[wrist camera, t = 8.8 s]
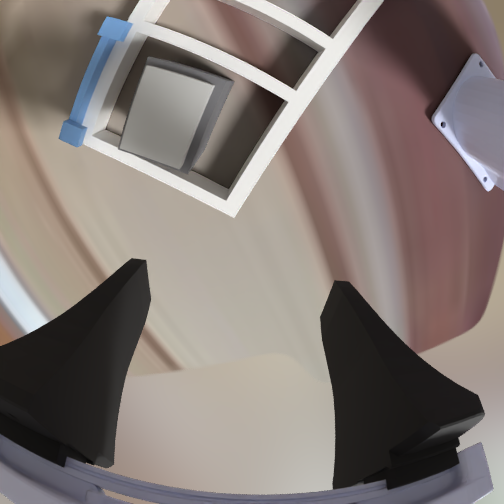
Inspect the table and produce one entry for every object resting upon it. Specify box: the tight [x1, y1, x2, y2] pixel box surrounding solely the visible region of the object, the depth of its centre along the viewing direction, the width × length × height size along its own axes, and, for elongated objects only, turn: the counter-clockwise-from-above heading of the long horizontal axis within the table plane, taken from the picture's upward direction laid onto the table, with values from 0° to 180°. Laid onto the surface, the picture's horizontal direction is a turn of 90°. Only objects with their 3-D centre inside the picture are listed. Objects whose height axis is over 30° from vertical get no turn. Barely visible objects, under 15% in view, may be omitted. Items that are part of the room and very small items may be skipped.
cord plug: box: [118, 56, 235, 174], centre depth 14 cm, size 4×5×6 cm
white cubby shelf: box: [59, 0, 384, 218], centre depth 12 cm, size 13×21×4 cm, turn 150°
